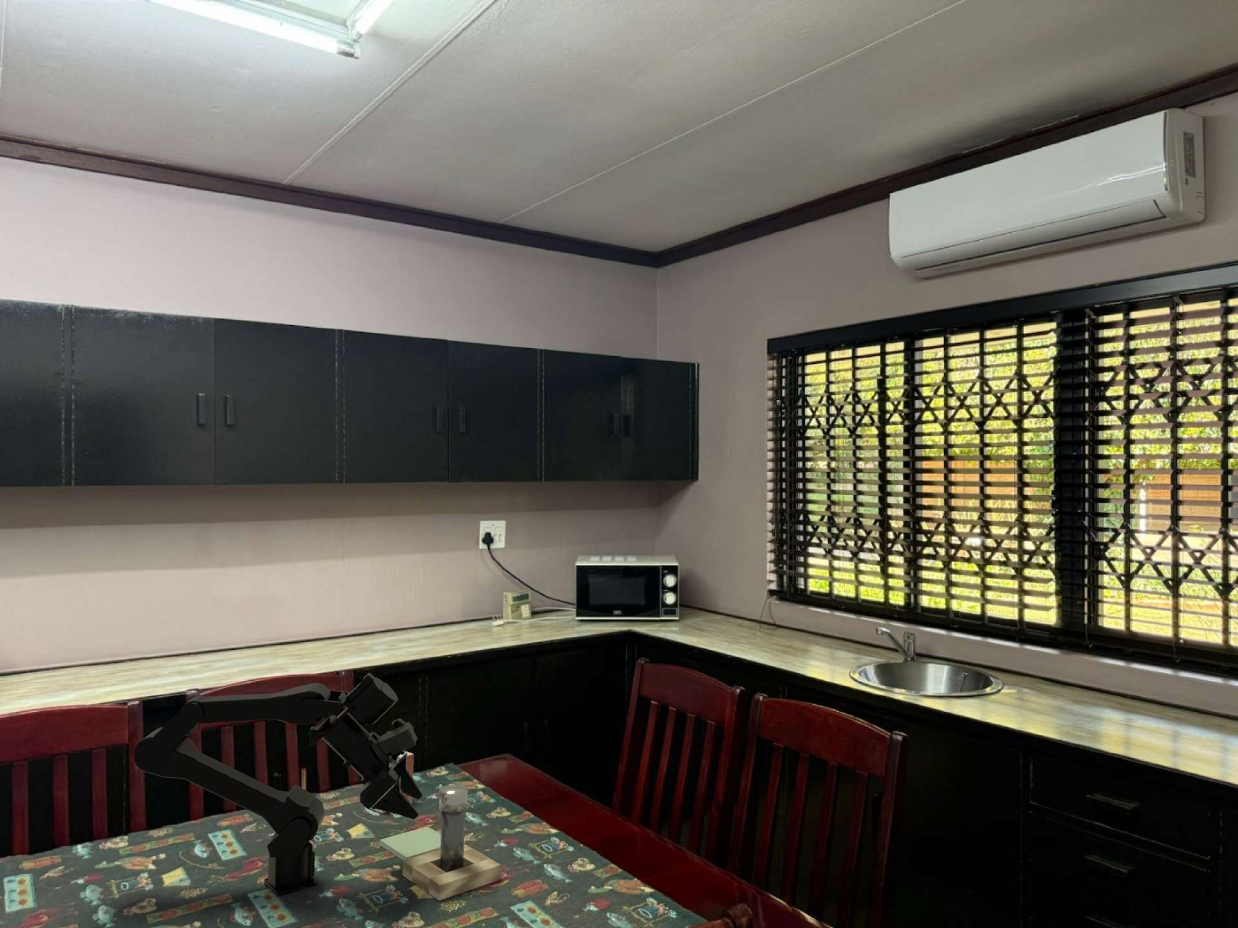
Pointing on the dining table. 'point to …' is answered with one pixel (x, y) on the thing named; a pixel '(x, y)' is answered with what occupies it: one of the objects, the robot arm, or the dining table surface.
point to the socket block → (451, 873)
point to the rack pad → (412, 843)
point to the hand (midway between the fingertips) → (418, 806)
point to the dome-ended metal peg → (452, 826)
